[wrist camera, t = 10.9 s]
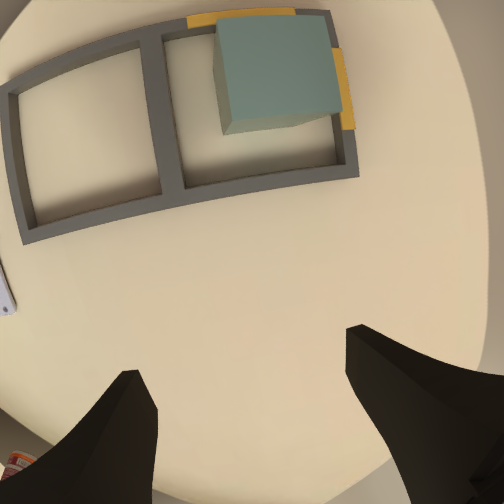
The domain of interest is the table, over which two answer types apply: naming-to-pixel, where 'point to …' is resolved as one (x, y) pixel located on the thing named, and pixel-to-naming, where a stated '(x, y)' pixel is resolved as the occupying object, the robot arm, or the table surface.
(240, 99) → the pale teal rectangular block
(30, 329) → the table surface
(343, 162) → the dock
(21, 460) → the pill bottle
